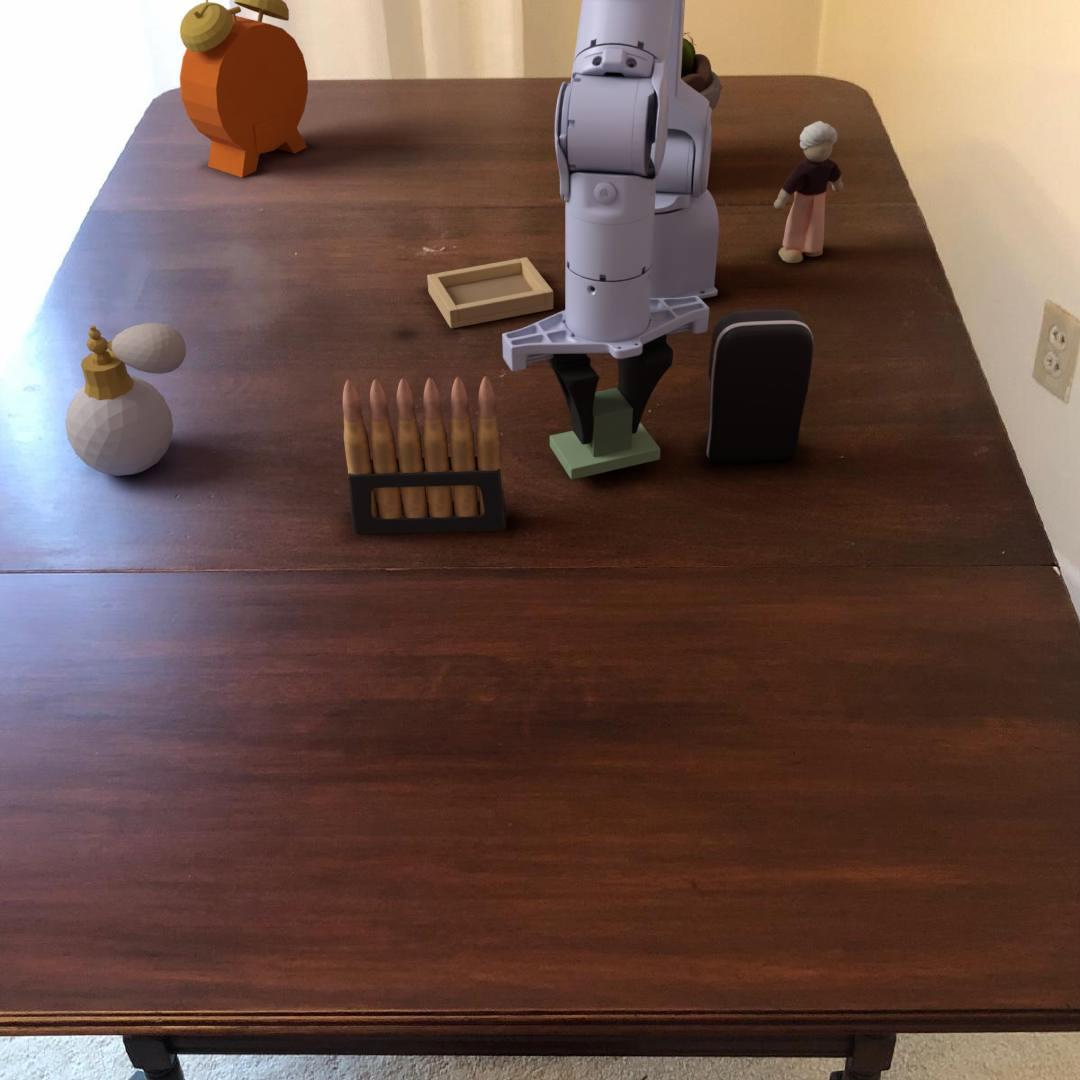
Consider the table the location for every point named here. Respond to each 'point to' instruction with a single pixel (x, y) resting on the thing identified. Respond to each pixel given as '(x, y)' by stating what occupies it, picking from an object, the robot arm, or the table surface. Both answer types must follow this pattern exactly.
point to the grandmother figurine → (809, 194)
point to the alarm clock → (242, 83)
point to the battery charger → (758, 385)
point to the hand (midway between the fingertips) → (604, 431)
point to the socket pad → (490, 292)
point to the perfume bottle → (124, 400)
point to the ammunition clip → (424, 463)
